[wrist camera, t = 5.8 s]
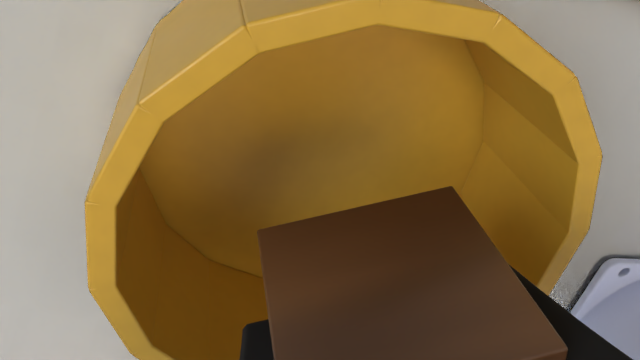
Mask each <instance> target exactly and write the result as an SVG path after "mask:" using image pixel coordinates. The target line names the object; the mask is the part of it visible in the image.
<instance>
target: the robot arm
mask: <svg viewBox="0 0 640 360" xmlns="http://www.w3.org/2000/svg"><path fill="white" fill-rule="evenodd" d="M508 265H509V264H508ZM509 266H510V265H509ZM510 267H511V269H512V270H513V272H514V273H515V274H516V276H517V277H518V279H519V280H520V281H521V283H522V284H523V286H524V287H525V288H526V290H527V291H528V293H529V294H530V295H531V297H532V298H533V300H534V301H535V302H536V304H537V305H538V307H539V308H540V309H541V311H542V312H543V314H544V315H545V316H546V318H547V319H548V321H549V322H550V323H551V325H552V326H553V328H554V329H555V330H556V332H557V333H558V335H559V336H560V337H561V339H562V340H563V342H564V343H565V344H566V346H567V348H568V353H567V357H566V360H640V259H623V258H613V259H609V260H607V261H605V262H604V263H603V264H602V265H601V267H600V268H599V270H598V271H597V273H596V274H595V276H594V277H593V279H592V280H591V282H590V283H589V285H588V286H587V288H586V289H585V291H584V292H583V294H582V295H581V297H580V298H579V300H578V301H577V303H576V304H575V306H574V307H573V309H572V310H571V312H570V313H569V312H568V311H567V310H565V309H564V308H563V307H562V306H560V305H559V304H558V303H556V302H555V301H554V300H553V299H551V298H550V297H549V296H548V295H546V294H545V293H544V292H543V291H541V290H540V289H539V288H538V287H536V286H535V285H534V284H533V283H531V282H530V281H529V280H528V279H526V278H525V277H524V276H523V275H522V274H520V273H519V272H518V271H517V270H515V269H514V268H513V267H512V266H510ZM239 360H274V357H273V350H272V342H271V335H270V327H269V320H268V319H267V320H262V321H258V322H254V323H250V324H247V325H246V326H245V327H244V328H243V330H242V343H241V351H240V358H239Z"/></svg>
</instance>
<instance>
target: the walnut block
mask: <svg viewBox="0 0 640 360" xmlns="http://www.w3.org/2000/svg"><path fill="white" fill-rule="evenodd" d="M257 237H258V245H259V252H260V260H261V267H262V275H263V282H264V290H265V297H266V305H267V312H268V320H269V327H270V335H271V342H272V350H273V357H274V360H566V357H567V353H568V348H567V346H566V344H565V343H564V342H563V340H562V339H561V337H560V336H559V335H558V333H557V332H556V330H555V329H554V328H553V326H552V325H551V323H550V322H549V321H548V319H547V318H546V316H545V315H544V314H543V312H542V311H541V309H540V308H539V307H538V305H537V304H536V302H535V301H534V300H533V298H532V297H531V295H530V294H529V293H528V291H527V290H526V288H525V287H524V286H523V284H522V283H521V281H520V280H519V279H518V277H517V276H516V274H515V273H514V272H513V270H512V269H511V267H510V266H509V265H508V263H507V262H506V260H505V259H504V258H503V256H502V255H501V253H500V252H499V251H498V249H497V248H496V246H495V245H494V244H493V242H492V241H491V239H490V238H489V237H488V235H487V234H486V232H485V231H484V230H483V228H482V227H481V225H480V224H479V223H478V221H477V220H476V218H475V217H474V216H473V214H472V213H471V211H470V210H469V209H468V207H467V206H466V204H465V203H464V202H463V200H462V199H461V197H460V196H459V195H458V193H457V192H456V190H455V189H454V188H453V187H452V186H448V187H444V188H439V189H435V190H431V191H426V192H422V193H417V194H413V195H409V196H404V197H400V198H395V199H391V200H387V201H382V202H378V203H373V204H369V205H364V206H360V207H356V208H351V209H347V210H342V211H338V212H334V213H329V214H325V215H320V216H316V217H312V218H307V219H303V220H298V221H294V222H290V223H285V224H281V225H276V226H272V227H268V228H263V229H259V230H258V231H257Z"/></svg>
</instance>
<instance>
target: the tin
mask: <svg viewBox="0 0 640 360" xmlns="http://www.w3.org/2000/svg"><path fill="white" fill-rule="evenodd" d="M601 162H602V151H601V148H600V145H599V142H598V139H597V136H596V133H595V130H594V127H593V124H592V121H591V118H590V115H589V112H588V109H587V106H586V103H585V100H584V97H583V94H582V91H581V88H580V85H579V82H578V79H577V77H576V76H575V75H574V73H573V72H572V71H571V70H569V69H568V68H567V67H566V66H565V65H563V64H562V63H561V62H560V61H559V60H557V59H556V58H555V57H554V56H552V55H551V54H550V53H549V52H548V51H546V50H545V49H544V48H543V47H542V46H540V45H539V44H538V43H537V42H535V41H534V40H533V39H532V38H531V37H529V36H528V35H527V34H526V33H525V32H523V31H522V30H521V29H520V28H518V27H517V26H516V25H515V24H514V23H512V22H511V21H510V20H509V19H508V18H506V17H505V16H504V15H503V14H501V13H499V12H498V11H496V10H494V9H492V8H491V7H489V6H487V5H486V4H484V3H482V2H480V1H479V0H183V1H182V2H181V3H180V4H178V5H177V6H176V7H175V8H174V9H173V10H172V11H171V12H170V13H169V14H168V15H167V16H165V17H164V18H163V19H161V20H160V21H159V24H157V25H156V26H155V28H154V30H153V32H152V34H151V36H150V38H149V40H148V42H147V44H146V46H145V47H144V49H143V50H142V52H141V54H140V55H139V58H138V60H137V62H136V65H135V67H134V69H133V71H132V73H131V75H130V77H129V79H128V81H127V83H126V85H125V87H124V89H123V91H122V93H121V94H120V97H119V100H118V103H117V106H116V109H115V112H114V115H113V118H112V121H111V124H110V127H109V130H108V133H107V136H106V139H105V142H104V145H103V148H102V151H101V154H100V157H99V160H98V163H97V166H96V169H95V172H94V175H93V178H92V181H91V184H90V187H89V190H88V193H87V196H86V200H85V223H86V248H87V274H88V288H89V291H90V293H91V294H92V296H93V297H94V299H95V300H96V302H97V303H98V305H99V307H100V308H101V310H102V311H103V313H104V314H105V316H106V317H107V319H108V320H109V322H110V323H111V325H112V326H113V328H114V329H115V331H116V332H117V334H118V335H119V337H120V338H121V340H122V342H123V343H124V345H125V346H126V348H127V349H128V351H129V352H130V354H132V355H133V356H134V357H136V358H138V359H139V360H239V358H240V351H241V343H242V330H243V328H244V327H245V326H246V325H247V324H250V323H254V322H258V321H262V320H267V319H268V312H267V305H266V297H265V290H264V282H263V275H262V267H261V260H260V252H259V245H258V237H257V231H258V230H259V229H263V228H268V227H272V226H276V225H281V224H285V223H290V222H294V221H298V220H303V219H307V218H312V217H316V216H320V215H325V214H329V213H334V212H338V211H342V210H347V209H351V208H356V207H360V206H364V205H369V204H373V203H378V202H382V201H387V200H391V199H395V198H400V197H404V196H409V195H413V194H417V193H422V192H426V191H431V190H435V189H439V188H444V187H448V186H452V187H453V188H454V189H455V190H456V192H457V193H458V195H459V196H460V197H461V199H462V200H463V202H464V203H465V204H466V206H467V207H468V209H469V210H470V211H471V213H472V214H473V216H474V217H475V218H476V220H477V221H478V223H479V224H480V225H481V227H482V228H483V230H484V231H485V232H486V234H487V235H488V237H489V238H490V239H491V241H492V242H493V244H494V245H495V246H496V248H497V249H498V251H499V252H500V253H501V255H502V256H503V258H504V259H505V260H506V262H507V263H508V264H509V265H510V266H512V267H513V268H514V269H515V270H517V271H518V272H519V273H520V274H522V275H523V276H524V277H525V278H526V279H528V280H529V281H530V282H531V283H533V284H534V285H535V286H536V287H538V288H539V289H540V290H541V291H543V292H544V293H545V294H546V295H549V294H550V293H551V291H552V289H553V288H554V286H555V284H556V283H557V281H558V280H559V278H560V276H561V275H562V273H563V271H564V270H565V268H566V267H567V265H568V263H569V262H570V260H571V259H572V257H573V255H574V254H575V252H576V250H577V249H578V247H579V246H580V244H581V242H582V241H583V239H584V237H585V236H586V234H587V233H588V230H589V228H590V223H591V217H592V212H593V206H594V201H595V195H596V189H597V184H598V178H599V173H600V167H601Z"/></svg>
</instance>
